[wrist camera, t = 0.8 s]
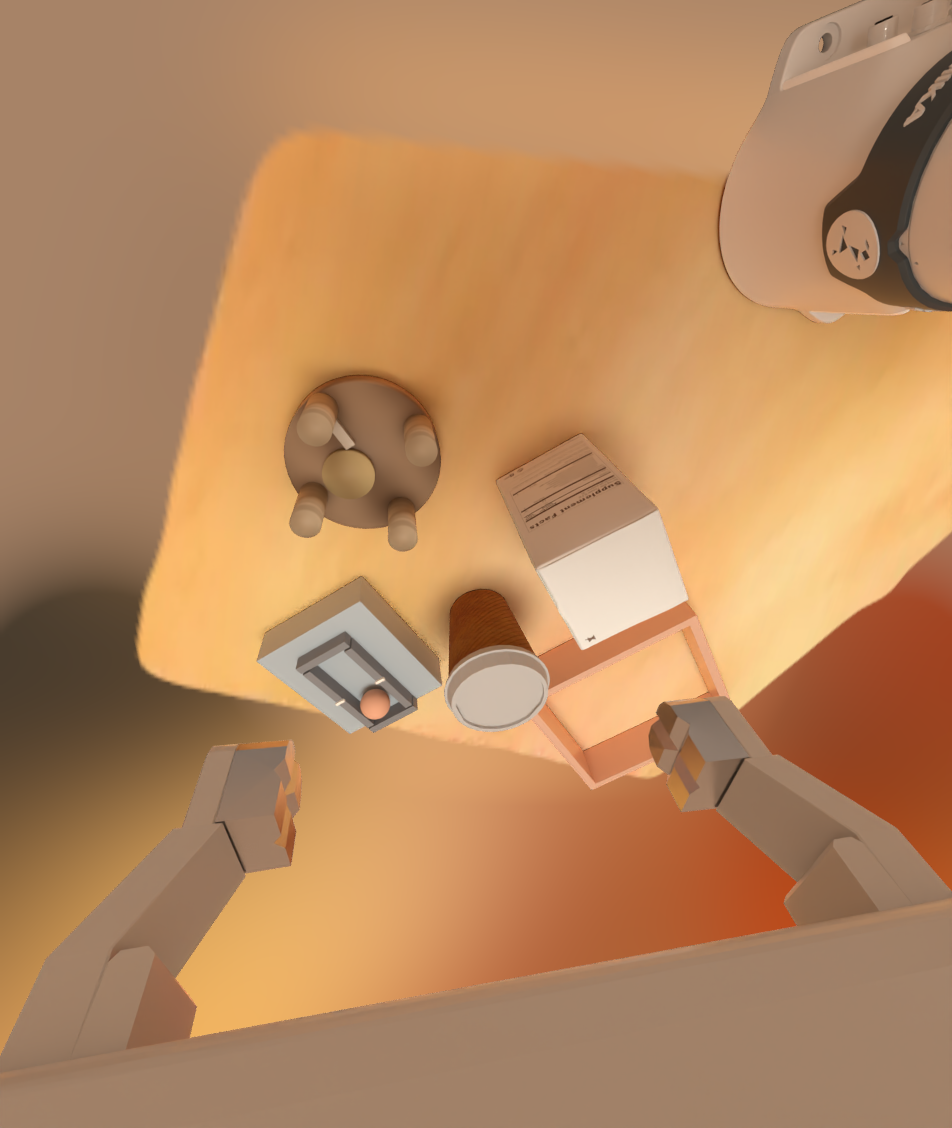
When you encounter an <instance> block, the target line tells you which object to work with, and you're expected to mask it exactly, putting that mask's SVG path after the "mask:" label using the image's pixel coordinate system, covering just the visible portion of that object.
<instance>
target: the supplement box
mask: <svg viewBox="0 0 952 1128" xmlns="http://www.w3.org/2000/svg"><path fill="white" fill-rule="evenodd" d="M496 483H497V486H498V488H499V490H500V493H501V495H502V497H503V499H504V502H505V504H506V506H507V508H508V511H509V513H510V515H511V517H512V519H513V522H514V524H515V526H516V529H517V531H518V533H519V535H520V538H521V540H522V542H523V544H524V547H525V549H526V551H527V553H528V555H529V558H530V560H531V562H532V564H533V566H534V568H535V570H536V572H537V574H538V576H539V578H540V579H541V581H542V583H543V584H544V586H545V588H546V590H547V591H548V593H549V595H550V597H551V598H552V600H553V602H554V604H555V605H556V607H557V609H558V611H559V613H560V615H561V616H562V618H563V619H564V621H565V623H566V625H567V626H568V628H569V630H570V632H571V633H572V635H573V637H574V639H575V640H576V642H577V644H578V646H579V647H580V649H581V650H585V649H587V648H589V647H591V646H593V645H595V644H597V643H599V642H601V641H603V640H605V639H607V638H609V637H611V636H613V635H615V634H617V633H619V632H621V631H623V630H625V629H628V628H630V627H632V626H634V625H636V624H638V623H640V622H642V621H645V620H647V619H649V618H651V617H654V616H656V615H658V614H660V613H663V612H665V611H667V610H669V609H671V608H673V607H675V606H677V605H679V604H681V603H683V602H685V601H687V600H688V595H687V592H686V589H685V586H684V583H683V580H682V577H681V574H680V571H679V568H678V565H677V562H676V559H675V556H674V553H673V550H672V547H671V544H670V541H669V538H668V535H667V532H666V529H665V526H664V523H663V521H662V518H661V515H660V512H659V509H658V508H657V507H656V506H655V505H654V504H653V503H652V502H651V501H650V500H649V499H648V498H647V497H646V496H645V495H644V494H643V493H642V492H641V491H640V490H639V489H638V488H637V487H636V486H635V485H634V484H633V483H632V482H631V481H630V480H629V479H627V478H626V477H625V476H624V475H623V474H622V473H621V472H620V471H619V469H618V468H617V467H616V466H615V465H614V464H613V463H612V462H611V461H610V460H609V459H608V458H606V456H605V455H604V454H602V453H601V452H600V451H599V450H598V449H597V448H596V447H595V446H594V445H593V444H592V443H591V442H590V441H589V440H588V439H587V438H586V437H585V436H584V435H583V434H579V435H577V436H575V437H573V438H571V439H570V440H568V441H566V442H564V443H562V444H561V445H559V446H557V447H555V448H553V449H552V450H550V451H548V452H546V453H544V454H543V455H541V456H539V457H537V458H535V459H534V460H532V461H530V462H528V463H527V464H525V465H523V466H521V467H519V468H518V469H516V470H514V471H512V472H510V473H508V474H507V475H505V476H503V477H501V478H500V479H498V480H497V481H496Z"/></svg>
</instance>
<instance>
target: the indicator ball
mask: <svg viewBox="0 0 952 1128" xmlns="http://www.w3.org/2000/svg"><path fill="white" fill-rule="evenodd" d="M360 708H361V711H362V713H363V714H364V715H365V716H366V717H367V718H369V719H380V718H382V717H383V716H385V715H386V714H387V712H388V711H389V708H390V698H389V696H388V695H387V693H386V692H384V691H383V690H380V689H372V690H369V691H367V692H366V693H365V694H364V695H363V697H362V699H361V702H360Z"/></svg>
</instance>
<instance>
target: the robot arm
mask: <svg viewBox="0 0 952 1128" xmlns="http://www.w3.org/2000/svg"><path fill="white" fill-rule="evenodd" d="M821 37H822V38H823V41H824V45H823V49H822V51H821V52H820V51H819V48H818V47H819V41H820V39H821ZM719 232H720V246H721V252H722V257H723V261H724V264H725V267H726V270H727V272H728V274H729V276H730V278H731V280H732V281H733V283H734V284H735V286H736V287H737V288H738V290H739V291H740V292H741V293H742V294H743V295H745V296H746V297H747V298H749V299H750V300H752V301H754V302H756V303H758V304H761V305H763V306H767V307H773V308H789V309H795V310H798V311H799V312H800V313H801V314H803V315H804V316H805V317H807V318H808V319H810V320H811V321H813V322H816V323H832V322H834V321H836V320H838V319H839V318H841V317H842V316H843V315H844V314H865V315H901V314H904V313H907V312H909V311H910V310H915V311H923V312H932V311H952V0H862V1H859V2H857V3H855V4H853V5H850V6H848V7H845V8H843V9H841V10H838V11H836V12H833V13H831V14H829V15H826V16H824V17H822V18H819V19H817V20H815V21H812V22H810V23H808V24H805V25H803V26H801V27H799V28H797V29H796V30H795V31H794V32H793V33H791V35H790V36H789V37H788V38H787V40H786V42H785V43H784V46H783V48H782V50H781V53H780V55H779V58H778V61H777V64H776V67H775V70H774V74H773V77H772V81H771V85H770V88H769V92H768V96H767V99H766V101H765V103H764V105H763V107H762V109H761V111H760V113H759V115H758V117H757V119H756V120H755V122H754V124H753V125H752V127H751V128H750V130H749V132H748V134H747V135H746V137H745V139H744V141H743V143H742V145H741V147H740V149H739V151H738V153H737V155H736V158H735V160H734V162H733V165H732V168H731V170H730V173H729V176H728V179H727V183H726V186H725V190H724V195H723V199H722V205H721V212H720V230H719ZM656 713H657V715H658V717H659V720H657V721H656V722H655V723H654V724H653V725H651V728H650V732H649V735H648V737H649V748H650V751H651V754H652V757H653V759H654V761H655V763H656V765H657V767H659V768H660V769H661V770H663V771H664V772H665V773H667V774H668V779H667V784H666V785H667V786H668V788H669V790H670V792H671V794H672V796H673V798H674V800H675V801H676V803H677V805H678V807H679V809H680V811H681V812H687V811H695V810H705V809H714V808H717V810H716V811H717V812H719V813H720V814H721V815H722V816H723V817H724V818H725V819H726V820H728V821H729V822H730V823H731V824H732V825H733V826H734V827H735V828H737V829H738V830H739V831H740V832H741V833H742V834H744V836H746V837H747V838H748V839H749V840H750V841H751V842H752V843H754V844H755V845H756V846H757V847H758V848H759V849H760V850H761V851H763V852H764V853H765V854H766V855H767V856H768V857H770V858H771V859H772V860H773V861H774V862H775V863H776V864H777V865H778V866H780V867H781V868H782V869H783V870H784V871H785V872H786V873H788V874H789V875H790V876H791V877H792V878H793V879H794V880H795V881H797V884H796V885H795V886H794V887H793V888H792V889H791V891H790V892H789V893H788V894H787V895H786V897H785V901H784V904H785V906H786V908H787V910H788V911H789V913H790V915H791V916H792V918H793V920H794V922H795V923H796V925H797V926H795V927H790V928H785V929H779V930H774V931H768V932H763V933H757V934H752V935H747V936H741V937H736V938H731V939H725V940H719V941H714V942H709V943H703V944H698V945H692V946H687V947H681V948H676V949H671V950H666V951H660V952H655V953H649V954H643V955H638V956H632V957H627V958H622V959H616V960H611V961H605V962H600V963H594V964H589V965H583V966H578V967H573V968H567V969H562V970H557V971H551V972H546V973H540V974H535V975H529V976H524V977H518V978H513V979H508V980H502V981H497V982H491V983H486V984H480V985H475V986H470V987H464V988H458V989H453V990H448V991H442V992H437V993H432V994H426V995H420V996H415V997H410V998H404V999H399V1000H393V1001H388V1002H383V1003H377V1004H372V1005H366V1006H361V1007H355V1008H350V1009H344V1010H339V1011H334V1012H329V1013H323V1014H317V1015H312V1016H307V1017H301V1018H296V1019H290V1020H285V1021H279V1022H274V1023H268V1024H263V1025H257V1026H252V1027H247V1028H241V1029H236V1030H231V1031H226V1032H219V1033H214V1034H209V1035H204V1036H198V1037H192V1038H190V1034H191V1030H192V1025H193V1021H194V1017H195V1012H196V1008H197V1007H196V1005H195V1003H194V1002H193V1000H192V999H191V997H190V996H189V995H188V994H187V992H186V991H185V990H184V989H183V988H182V986H181V985H180V984H179V982H178V981H177V980H176V979H175V978H176V977H177V975H178V974H179V972H180V971H181V969H182V968H183V966H184V965H185V964H186V962H187V961H188V959H189V958H190V956H191V955H192V953H193V952H194V950H195V949H196V948H197V946H198V945H199V943H200V942H201V940H202V939H203V937H204V936H205V934H206V933H207V932H208V930H209V929H210V927H211V926H212V924H213V923H214V921H215V920H216V919H217V917H218V916H219V914H220V913H221V911H222V910H223V908H224V907H225V905H226V904H227V903H228V901H229V900H230V898H231V897H232V895H233V894H234V892H235V891H236V889H237V888H238V887H239V885H240V884H241V882H242V881H243V879H244V878H245V873H251V872H257V871H262V870H269V869H275V868H281V867H287V866H291V862H292V855H293V849H294V842H295V836H296V829H295V826H294V823H293V819H292V818H293V817H294V816H295V815H296V813H297V812H298V811H299V808H300V801H301V785H302V779H301V770H300V766H299V763H298V762H296V761H295V760H294V756H295V746H294V743H293V740H284V741H271V742H258V743H246V744H232V745H222V746H213V747H212V748H211V750H210V751H209V752H208V754H207V757H206V759H205V762H204V765H203V767H202V770H201V774H200V776H199V779H198V782H197V785H196V788H195V791H194V794H193V797H192V799H191V803H190V806H189V808H188V811H187V814H186V817H185V820H184V823H183V826H182V827H181V828H175V829H173V830H172V831H171V832H170V833H169V834H168V835H167V836H166V837H165V838H164V839H163V840H162V841H161V842H160V843H159V844H158V845H157V846H156V847H155V848H154V849H153V850H152V851H151V852H150V853H149V854H148V855H147V856H146V857H145V858H144V859H143V860H142V861H141V862H140V863H139V864H138V866H137V867H135V869H133V871H132V872H131V873H130V874H129V875H128V876H127V877H126V878H125V879H124V880H123V881H122V882H121V883H120V884H119V885H118V886H117V887H116V888H115V889H114V890H113V891H112V892H111V893H110V894H109V895H108V896H107V897H106V898H105V899H104V900H103V901H102V902H101V903H100V904H99V905H98V906H97V907H96V908H95V909H94V910H93V911H92V912H91V913H90V914H89V915H88V916H87V918H86V919H84V921H83V922H82V923H81V924H80V925H79V926H78V927H77V928H76V929H75V930H74V931H73V932H72V933H71V934H70V935H69V936H68V937H67V938H66V939H65V940H64V941H63V942H62V943H61V944H60V945H59V946H58V947H57V948H56V949H55V950H54V951H53V952H52V953H51V954H50V955H49V957H47V958H46V960H45V962H44V964H43V966H42V969H41V971H40V973H39V975H38V977H37V979H36V981H35V983H34V985H33V988H32V990H31V992H30V994H29V996H28V998H27V1000H26V1002H25V1005H24V1007H23V1009H22V1011H21V1013H20V1015H19V1018H18V1019H17V1022H16V1024H15V1026H14V1028H13V1030H12V1032H11V1034H10V1036H9V1039H8V1041H7V1043H6V1045H5V1047H4V1049H3V1051H2V1053H1V1056H0V1128H952V891H951V890H950V889H949V888H948V887H947V886H946V884H945V883H944V882H943V881H942V880H941V879H940V877H938V875H937V874H936V873H935V872H934V871H933V869H932V868H931V867H930V866H929V865H928V864H927V863H926V861H925V860H924V859H923V858H922V857H921V856H920V854H919V853H918V852H917V851H916V850H915V849H914V848H913V846H912V845H911V844H910V843H909V842H908V841H907V839H906V838H905V837H904V836H903V835H902V834H901V833H900V831H899V830H898V829H897V828H896V827H894V826H892V825H891V824H889V823H888V822H886V821H884V820H883V819H881V818H880V817H878V816H876V815H875V814H873V813H871V812H870V811H868V810H867V809H865V808H863V807H862V806H860V805H859V804H857V803H855V802H854V801H852V800H850V799H849V798H847V797H846V796H844V795H842V794H841V793H839V792H838V791H836V790H834V789H833V788H831V787H830V786H828V785H826V784H825V783H823V782H822V781H820V780H818V779H817V778H815V777H814V776H812V775H810V774H809V773H807V772H805V771H804V770H802V769H801V768H799V767H797V766H796V765H794V764H793V763H791V762H789V761H788V760H786V759H784V758H783V757H781V756H780V755H772V754H771V753H770V751H769V750H768V749H767V747H766V746H765V745H764V743H763V742H762V741H761V740H760V738H759V737H758V736H757V734H756V733H755V732H754V730H753V729H752V728H751V726H750V725H749V724H748V723H747V721H746V720H745V718H744V717H743V716H742V714H741V713H740V712H739V710H738V709H737V708H736V706H735V705H734V704H733V703H732V701H731V700H730V699H729V698H727V697H726V696H716V697H707V698H693V699H684V700H675V701H667V702H663V703H661V704H660V705H659V707H658V709H657V712H656Z"/></svg>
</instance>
